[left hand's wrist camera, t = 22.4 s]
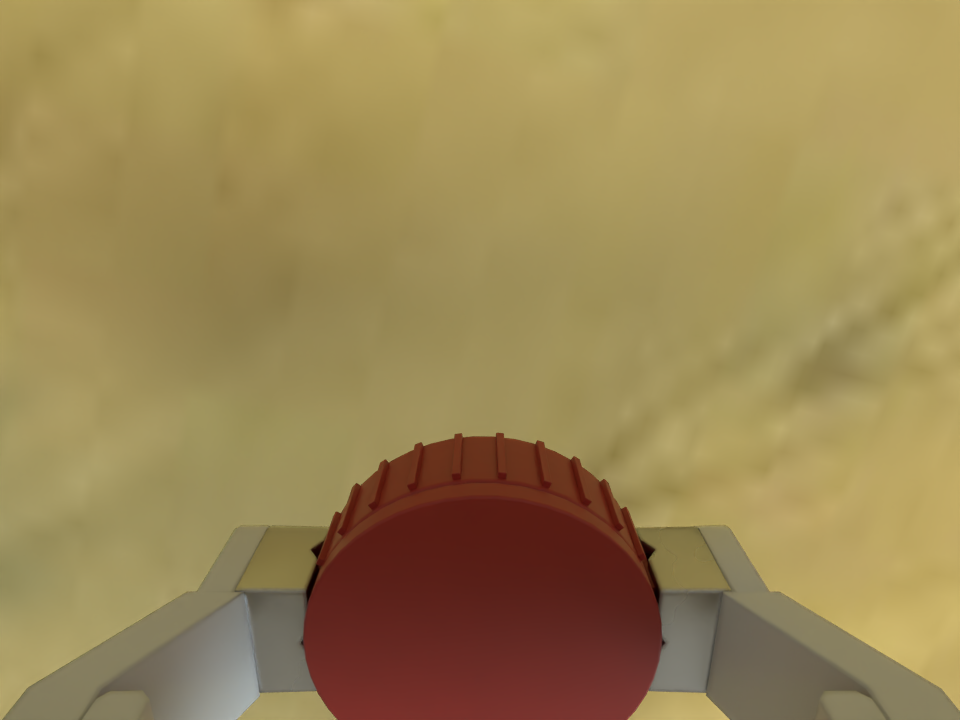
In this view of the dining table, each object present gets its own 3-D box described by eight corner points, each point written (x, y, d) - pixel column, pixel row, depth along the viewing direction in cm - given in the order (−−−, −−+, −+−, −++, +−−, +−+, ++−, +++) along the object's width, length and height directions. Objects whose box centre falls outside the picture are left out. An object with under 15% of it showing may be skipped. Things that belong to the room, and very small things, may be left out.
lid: (402, 374, 9) (386, 428, 7) (701, 511, 10) (742, 585, 8) (278, 625, 11) (243, 713, 9) (545, 725, 11) (555, 822, 10)
